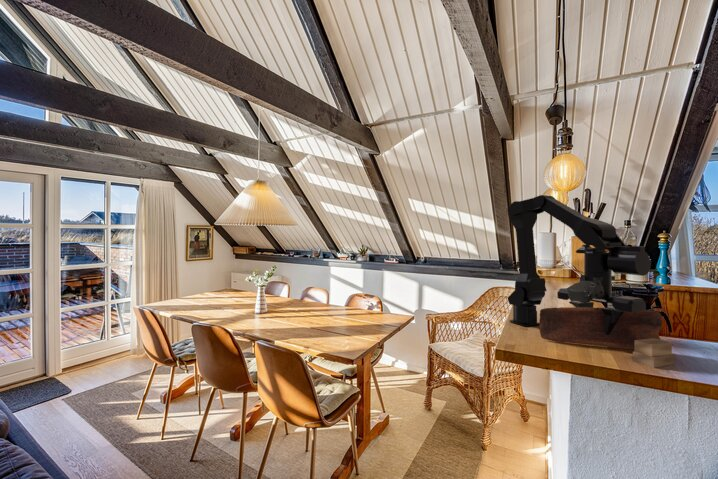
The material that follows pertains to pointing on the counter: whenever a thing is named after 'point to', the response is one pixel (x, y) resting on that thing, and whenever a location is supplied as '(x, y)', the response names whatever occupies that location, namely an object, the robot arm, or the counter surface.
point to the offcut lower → (653, 360)
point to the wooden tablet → (598, 326)
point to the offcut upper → (653, 347)
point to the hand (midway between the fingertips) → (597, 332)
